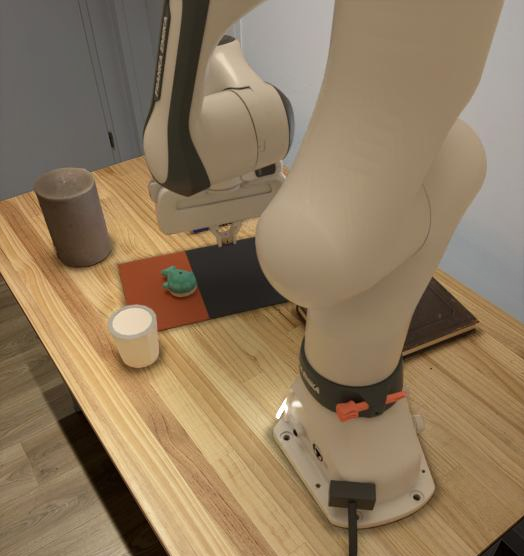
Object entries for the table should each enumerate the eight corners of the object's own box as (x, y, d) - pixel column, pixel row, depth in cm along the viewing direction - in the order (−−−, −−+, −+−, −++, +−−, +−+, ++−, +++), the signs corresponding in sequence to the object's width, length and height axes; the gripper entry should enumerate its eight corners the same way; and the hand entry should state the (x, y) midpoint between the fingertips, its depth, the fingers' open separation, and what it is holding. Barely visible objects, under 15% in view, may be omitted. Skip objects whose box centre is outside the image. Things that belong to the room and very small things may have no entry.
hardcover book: (475, 331, 85) (479, 320, 84) (347, 381, 79) (349, 371, 77) (414, 271, 95) (416, 260, 93) (295, 311, 89) (296, 301, 87)
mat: (304, 297, 91) (304, 297, 91) (134, 336, 85) (133, 335, 85) (269, 234, 102) (269, 233, 102) (117, 265, 97) (117, 264, 96)
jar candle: (122, 376, 80) (112, 344, 75) (113, 344, 84) (102, 311, 79) (168, 363, 81) (162, 330, 76) (156, 332, 86) (149, 298, 80)
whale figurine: (174, 305, 89) (171, 287, 87) (153, 280, 93) (149, 263, 91) (205, 291, 92) (203, 273, 89) (183, 268, 96) (181, 250, 93)
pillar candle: (46, 260, 97) (17, 185, 86) (77, 229, 103) (54, 155, 92) (93, 273, 95) (70, 197, 84) (122, 240, 101) (104, 165, 90)
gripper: (149, 186, 74) (165, 268, 84) (293, 160, 78) (292, 241, 88) (142, 165, 78) (158, 245, 88) (279, 140, 82) (280, 220, 92)
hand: (226, 243), depth 88 cm, fingers closed
